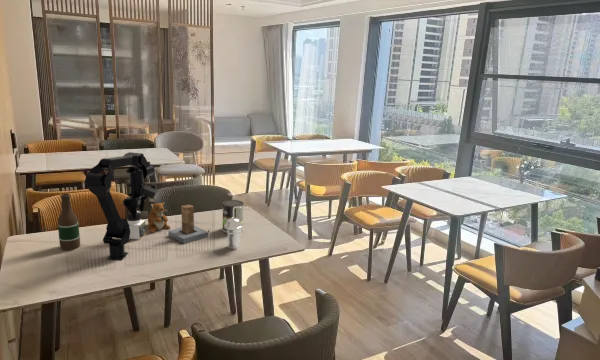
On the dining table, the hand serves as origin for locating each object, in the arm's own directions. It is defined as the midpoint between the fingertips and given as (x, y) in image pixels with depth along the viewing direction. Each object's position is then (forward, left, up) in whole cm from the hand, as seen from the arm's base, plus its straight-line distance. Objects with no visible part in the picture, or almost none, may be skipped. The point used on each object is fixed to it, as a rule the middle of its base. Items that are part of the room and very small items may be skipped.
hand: (138, 214), depth 189 cm
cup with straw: (-3, -43, -13) cm, 45 cm away
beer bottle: (-8, +27, -13) cm, 31 cm away
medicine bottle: (+6, +4, -13) cm, 15 cm away
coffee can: (+18, -40, -13) cm, 46 cm away
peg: (+8, -20, -13) cm, 25 cm away
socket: (+8, -20, -13) cm, 25 cm away
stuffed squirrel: (+18, -2, -13) cm, 23 cm away
